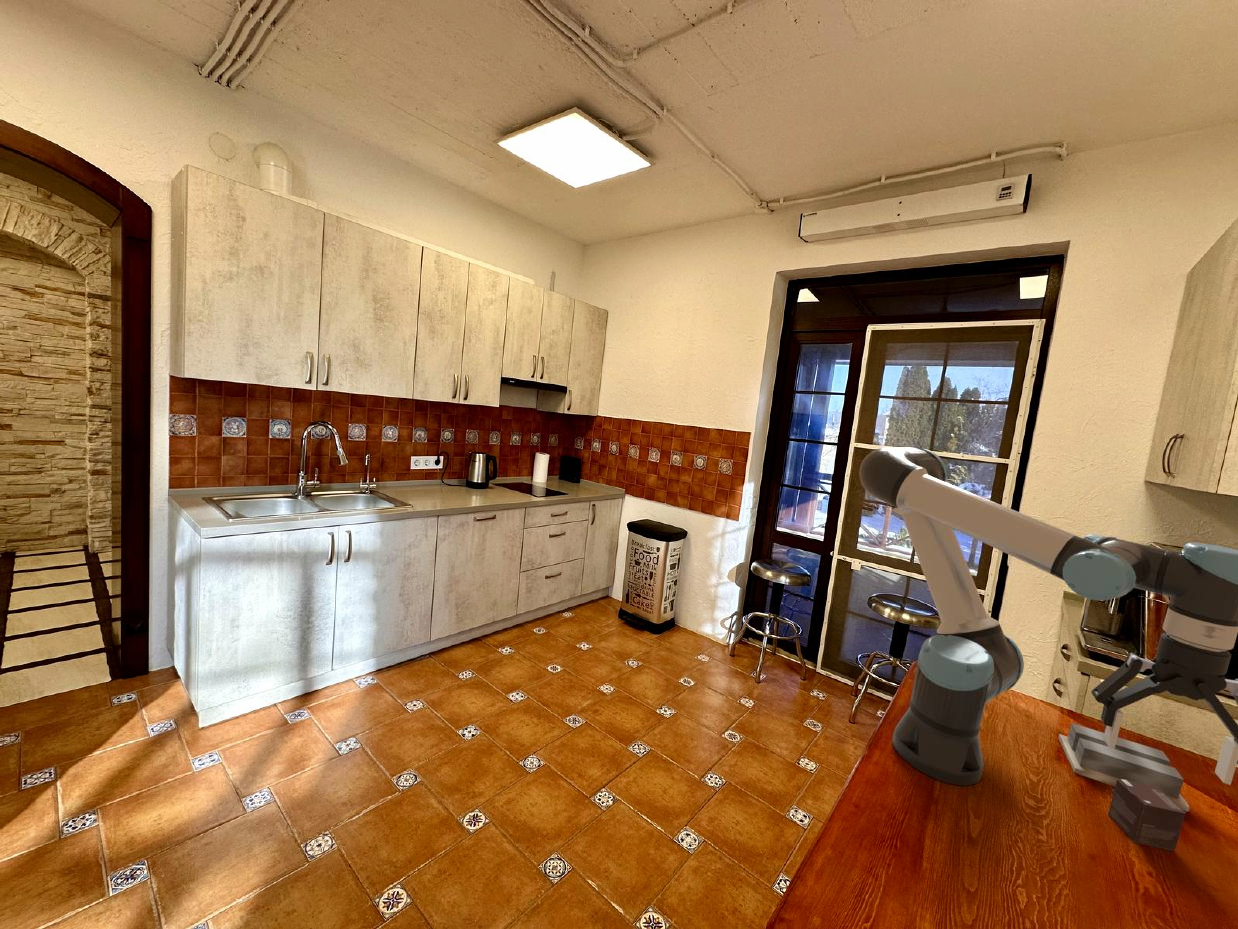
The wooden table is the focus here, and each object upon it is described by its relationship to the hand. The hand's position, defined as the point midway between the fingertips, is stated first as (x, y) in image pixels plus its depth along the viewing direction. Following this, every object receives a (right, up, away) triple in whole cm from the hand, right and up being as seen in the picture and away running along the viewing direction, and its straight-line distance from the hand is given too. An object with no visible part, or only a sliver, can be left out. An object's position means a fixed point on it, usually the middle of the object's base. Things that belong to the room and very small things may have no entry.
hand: (1163, 760), depth 84 cm
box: (-1, -14, +3) cm, 14 cm away
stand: (+9, -12, +17) cm, 23 cm away
